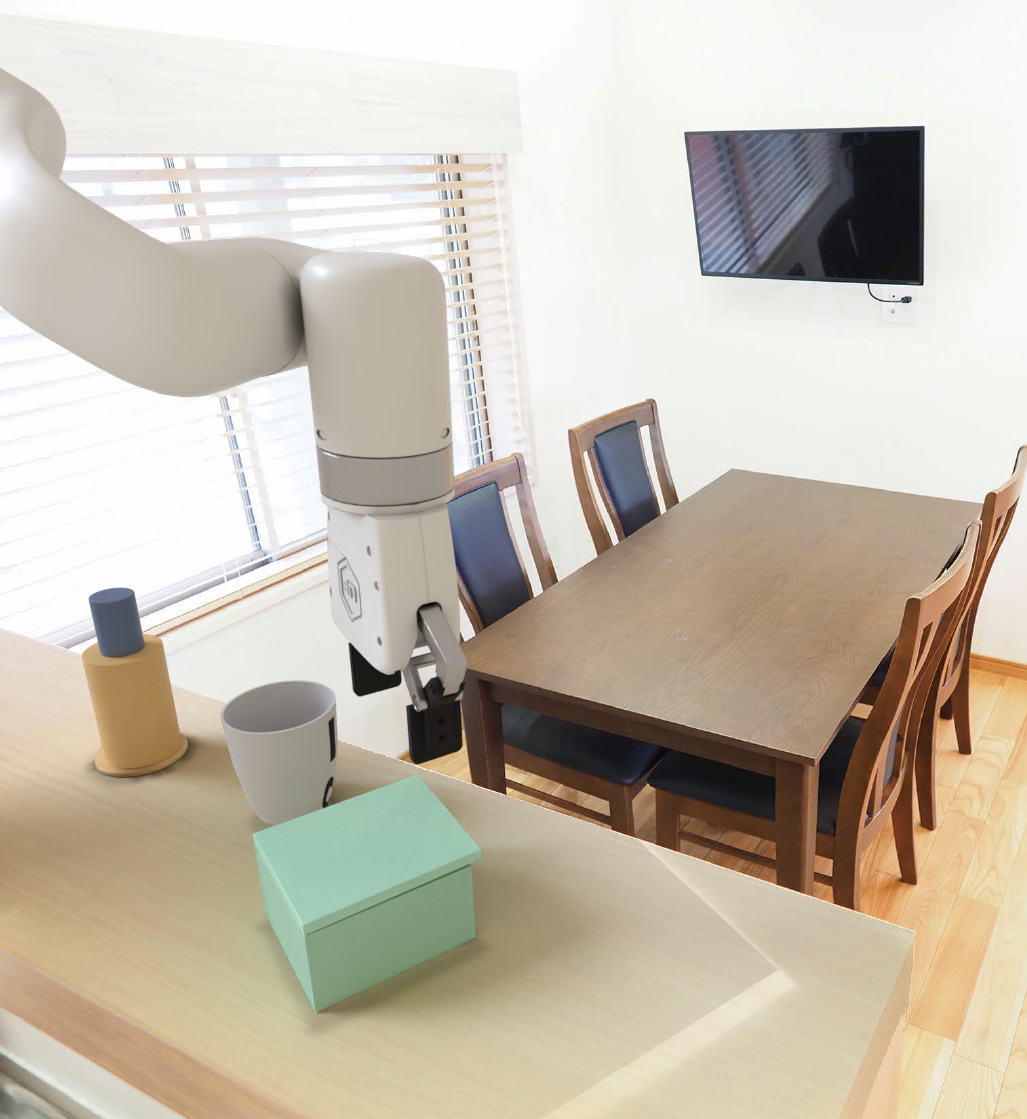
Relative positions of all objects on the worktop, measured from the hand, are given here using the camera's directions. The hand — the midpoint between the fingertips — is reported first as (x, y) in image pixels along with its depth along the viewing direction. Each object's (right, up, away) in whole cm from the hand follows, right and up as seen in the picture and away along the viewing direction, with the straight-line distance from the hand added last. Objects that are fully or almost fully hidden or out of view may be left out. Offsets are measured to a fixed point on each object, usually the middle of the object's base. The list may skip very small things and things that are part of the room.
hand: (405, 721), depth 62 cm
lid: (-3, -9, +1) cm, 9 cm away
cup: (-15, -10, +15) cm, 23 cm away
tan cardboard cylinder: (-31, -6, +21) cm, 38 cm away
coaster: (-31, -7, +21) cm, 38 cm away
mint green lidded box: (-4, -15, +3) cm, 16 cm away
